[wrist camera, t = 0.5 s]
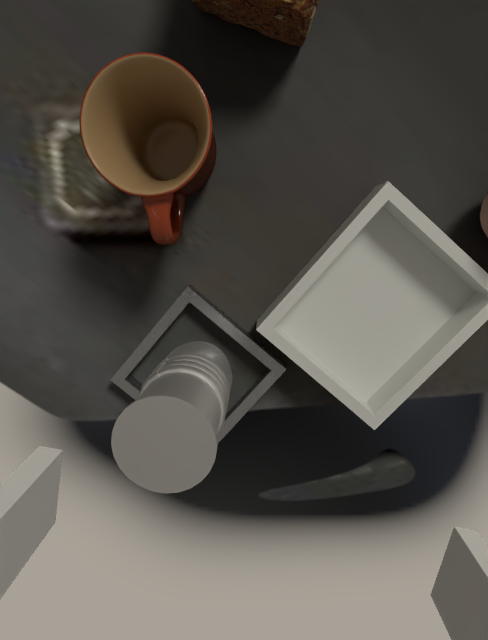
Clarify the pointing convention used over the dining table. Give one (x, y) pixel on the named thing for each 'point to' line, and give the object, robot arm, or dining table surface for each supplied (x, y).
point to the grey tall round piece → (175, 420)
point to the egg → (484, 215)
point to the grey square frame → (231, 328)
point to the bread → (266, 16)
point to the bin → (379, 306)
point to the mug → (150, 135)
